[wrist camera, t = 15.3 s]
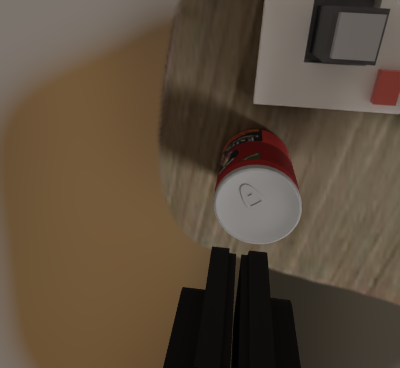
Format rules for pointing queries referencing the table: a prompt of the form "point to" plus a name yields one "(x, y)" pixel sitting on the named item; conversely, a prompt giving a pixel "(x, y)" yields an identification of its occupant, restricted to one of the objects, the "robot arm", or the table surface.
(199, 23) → the table surface
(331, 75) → the socket plate
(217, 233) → the table surface
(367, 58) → the plug
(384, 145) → the table surface
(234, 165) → the canned food
